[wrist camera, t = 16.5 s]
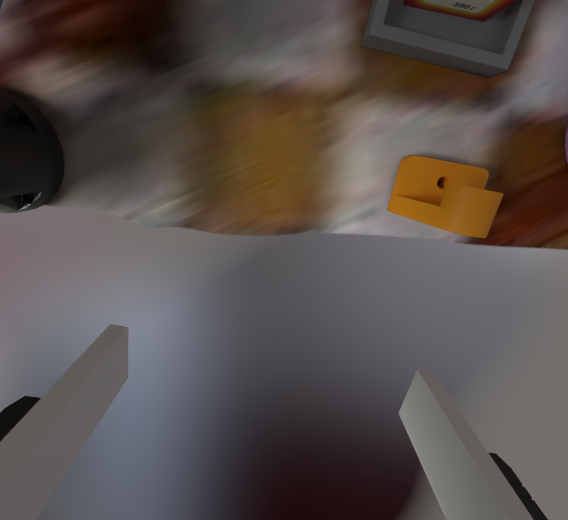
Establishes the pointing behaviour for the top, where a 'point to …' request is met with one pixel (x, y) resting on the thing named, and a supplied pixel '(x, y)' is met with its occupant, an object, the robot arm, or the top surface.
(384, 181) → the top surface
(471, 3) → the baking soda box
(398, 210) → the bracket
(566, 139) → the teapot
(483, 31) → the tray
